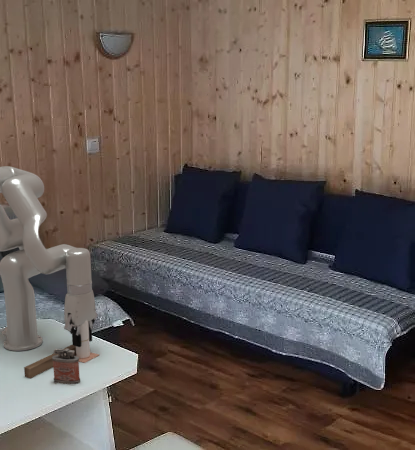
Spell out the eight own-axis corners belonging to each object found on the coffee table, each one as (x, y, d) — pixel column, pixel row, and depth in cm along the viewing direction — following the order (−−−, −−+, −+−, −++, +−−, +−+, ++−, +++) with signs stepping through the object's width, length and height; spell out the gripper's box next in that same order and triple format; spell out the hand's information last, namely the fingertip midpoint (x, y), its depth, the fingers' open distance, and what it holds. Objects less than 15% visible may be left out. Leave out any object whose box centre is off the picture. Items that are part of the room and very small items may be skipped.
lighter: (82, 380, 199) (80, 348, 197) (77, 385, 195) (75, 352, 193) (56, 378, 200) (54, 346, 198) (51, 382, 197) (49, 350, 195)
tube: (87, 358, 213) (84, 313, 210) (74, 357, 214) (71, 312, 210) (92, 353, 217) (89, 308, 214) (79, 352, 218) (77, 308, 214)
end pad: (70, 359, 214) (70, 358, 214) (85, 351, 219) (85, 350, 219) (84, 363, 210) (84, 362, 210) (99, 355, 216) (99, 354, 216)
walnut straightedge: (24, 376, 201) (24, 367, 201) (80, 349, 221) (79, 340, 221) (30, 378, 200) (29, 369, 199) (85, 350, 220) (85, 342, 219)
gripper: (88, 279, 219) (91, 332, 223) (51, 293, 205) (54, 349, 209) (106, 282, 215) (108, 337, 219) (69, 297, 202) (72, 354, 205)
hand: (82, 342), depth 214 cm, fingers closed on tube, 4 cm apart
